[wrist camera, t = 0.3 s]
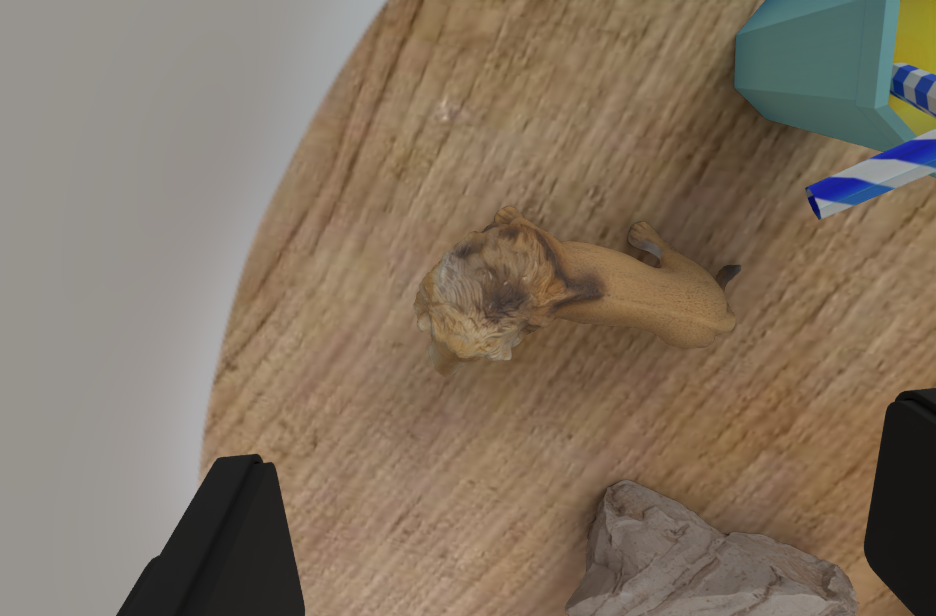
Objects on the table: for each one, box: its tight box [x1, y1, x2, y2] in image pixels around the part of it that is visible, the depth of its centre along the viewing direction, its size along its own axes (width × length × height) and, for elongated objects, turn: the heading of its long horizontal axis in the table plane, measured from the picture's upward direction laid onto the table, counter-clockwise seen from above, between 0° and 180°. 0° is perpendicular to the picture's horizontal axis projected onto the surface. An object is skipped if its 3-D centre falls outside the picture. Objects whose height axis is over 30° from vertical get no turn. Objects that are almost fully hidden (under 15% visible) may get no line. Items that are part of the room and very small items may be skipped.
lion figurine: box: [413, 206, 741, 377], centre depth 24 cm, size 15×5×9 cm, turn 89°
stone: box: [565, 480, 859, 616], centre depth 31 cm, size 15×9×10 cm
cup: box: [734, 0, 936, 220], centre depth 19 cm, size 14×8×15 cm, turn 119°
